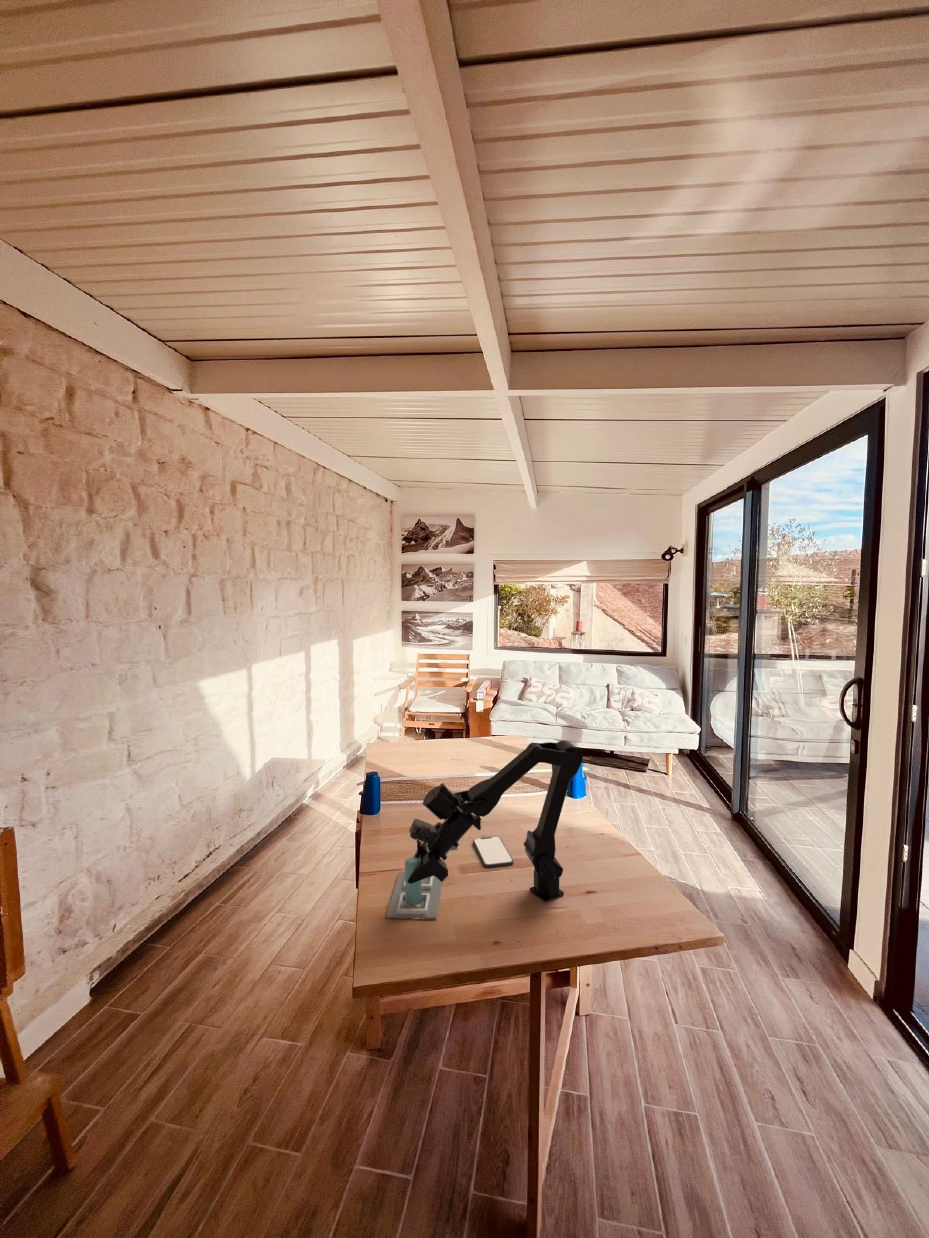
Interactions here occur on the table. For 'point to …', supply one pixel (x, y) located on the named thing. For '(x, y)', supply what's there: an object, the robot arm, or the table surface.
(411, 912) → the pin board
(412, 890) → the pin
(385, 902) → the table surface
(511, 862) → the white smartphone
